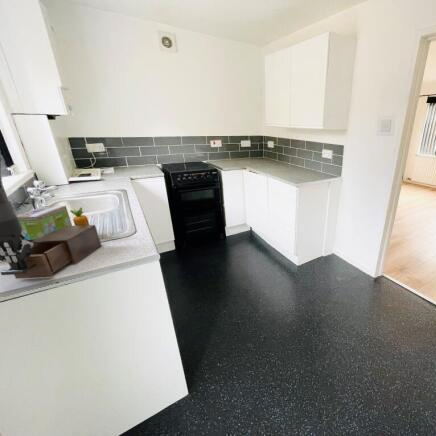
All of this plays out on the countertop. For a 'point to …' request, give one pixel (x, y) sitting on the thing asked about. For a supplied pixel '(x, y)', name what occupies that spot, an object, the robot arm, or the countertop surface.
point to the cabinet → (75, 240)
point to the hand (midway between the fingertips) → (21, 271)
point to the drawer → (42, 261)
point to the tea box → (43, 221)
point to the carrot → (79, 218)
